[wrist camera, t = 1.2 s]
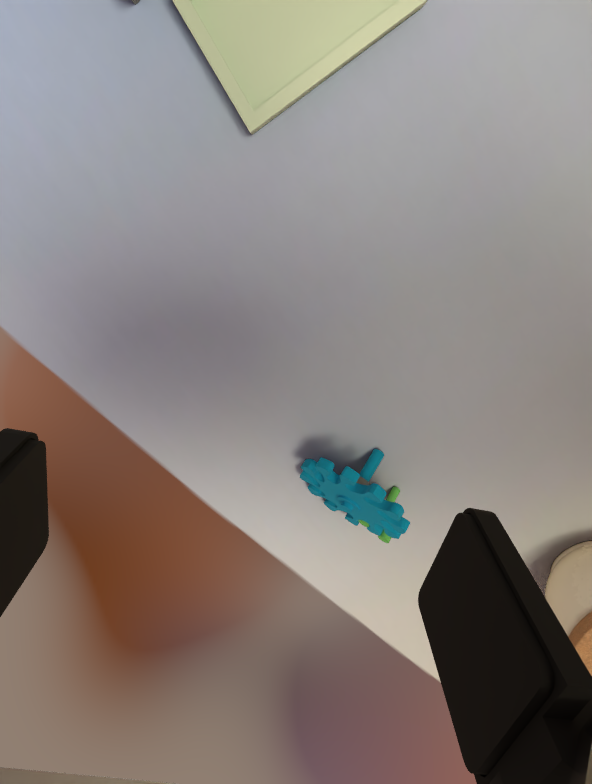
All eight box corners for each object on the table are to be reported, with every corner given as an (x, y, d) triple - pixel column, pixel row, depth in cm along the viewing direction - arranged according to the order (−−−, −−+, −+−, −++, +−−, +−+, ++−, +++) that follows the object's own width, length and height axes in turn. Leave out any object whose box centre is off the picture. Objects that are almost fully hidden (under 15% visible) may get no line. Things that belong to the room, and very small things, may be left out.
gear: (275, 462, 38) (364, 486, 31) (311, 410, 41) (402, 421, 33) (337, 531, 44) (426, 565, 36) (366, 481, 46) (455, 504, 39)
